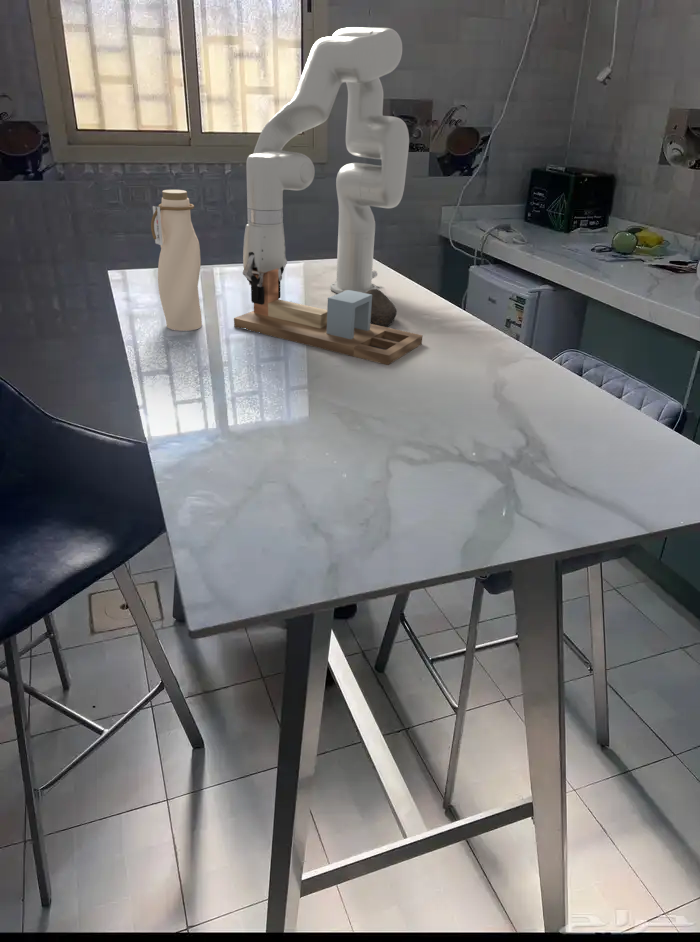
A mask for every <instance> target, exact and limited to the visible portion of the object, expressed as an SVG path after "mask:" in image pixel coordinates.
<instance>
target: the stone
mask: <svg viewBox="0 0 700 942" xmlns="http://www.w3.org/2000/svg"><path fill="white" fill-rule="evenodd" d="M365 293H366V294H371V295H372V306H371V322H370V324H374V325H378V326H383V327H387V328H389V326H391V325H392V324H393V323H394V321H395V318H396V316H397V308H396V306H395V305H394V304H393V302H392V301H391V300H390V298H388V296H387V295H385V293H383V292H382V291H381V290H379V289H378V288H377V289H371V290H369V291H367V292H365Z"/></svg>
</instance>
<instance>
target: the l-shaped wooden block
mask: <svg viewBox="0 0 700 942" xmlns="http://www.w3.org/2000/svg"><path fill="white" fill-rule="evenodd" d="M256 271H257V269H256ZM258 276H259V275H258V274H256V278H257V279H258ZM262 286H263V287H264V304H262V305H261V304H256V303H253V311H254V313H257V314H261V315H265V316H270V317H274V318H278V319H282V320H287V321H291V322H295V323H299V324H304V325H308V326H312V327H317V328H322V327H324V326H327V309H324V308H320V307H315V306H310V305H306V304H303V303H302V304H301V303H297V302H292V301H288V300H283V299H280V298H279V299H278V268H277V269H274V270H271V271H268V272H266V273H264V278H263V283H262Z"/></svg>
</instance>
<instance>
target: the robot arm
mask: <svg viewBox="0 0 700 942" xmlns="http://www.w3.org/2000/svg"><path fill="white" fill-rule="evenodd" d="M402 55H403V42H402V39H401V36H400V34H399V33H398V32H397V31H396V30H394V28H389V27H365V26H360V27H359V26H350V27H349V26H348V27H343V28H339V29H337V30H336V31H335V32H333V34H332V36H325V37H324V36H323V37H321V38H319V39H317V40H316V41H315V42H314V44H312V47H311V49H310V52H309V55H308V57H307V60H306V62H305V65H304V67H303V70H302V74H301V76H300V78H299V81H298V83H297V87H296V89H295V92H294V94H293V97H292V99H291V100H290V101H289V102H288V103H287V104H285V105H284V106H283V107H282V108H281V109H280V110H278V111H277V112H276V113H275V115H273V117H272V118H270V119H269V121H268V122H267V123H266V124H265V126H264V127H263V129H262V130H261V131H260V133H259V136H258V139H257V142H256V144H255V146H254V150H253V153H252V154H249V155H248V156H247V159H246V166H245V167H246V168H245V169H246V194H247V195H246V199H247V201H246V204H247V224H245V230H244V234H243V235H244V236H243V249H242V250H243V252H242V255H243V256H242V258H243V259H242V262H243V263H242V264H243V271H242V275H243V277H245V278H246V280H247V281H248V284H249V286H250V292H251V293H250V296H251V298H250V299H251V303H252V304H254V303H256V304H261V305H262V304H264V287H263V286H262V283H263V278H264V273H266V272H268V271H271V270H274V269H277V268H278V299H279V300H280V299H281V281H282V280H283V273H284V271H285V267H286V266H287V264H288V260H287V258H286V242H285V240H286V238H285V231H284V223H283V222H284V221H283V219H284V218H283V217H284V213H283V207H284V206H283V204H284V202H283V200H284V199H283V198H284V196H283V195H284V193H283V192H284V190H288V191H289V190H290V191H302V190H305V189H306V188H308V187H310V185H311V184H312V183H313V181H314V178H315V170H316V169H315V166H314V163H313V161H312V159H311V158H310V157H309V156H307V155H305V154H304V153H301V152H297V151H296V152H295V151H294V152H293V151H288V150H283V148H284V147H285V145H286V144H287V143H289V141H290V140H292V139H293V138H294V137H296V136H297V135H299V134H301V133H303V132H306V131H308V130H311V129H313V128H315V127H317V126H319V125H322V124H324V123H325V122H326V121H327V120H328V119H329V117H330V115H331V111H332V108H333V106H334V103H335V101H336V98H337V95H338V93H339V90H340V88H341V86H342V84H344V83H346V88H347V110H346V111H347V112H346V124H345V125H346V126H345V147H346V150H347V151H348V153H349V154H351V155H352V156H355V157H360V158H366V159H374V160H381V165H376V164H372V163H362V162H351V163H346V164H345V165H343V166H342V167H341V168H339V171H338V172H337V175H336V180H335V181H336V182H335V185H336V186H335V187H336V195H337V202H338V231H337V232H338V233H337V234H338V236H337V257H336V259H337V260H336V280H335V281H334V282H331V283H330V286H329V287H330V290H331V291H332V292H333V293H336V294H339V293H341V292H344V291H346V290H352V291H357V292H361V293H365V292H367V291H369V290H371V289H377V290H378V287H377V285H375V284H374V283H373V282H372V280H373V279H375V278H377V277H378V272H377V271H376V270H373V266H374V265H373V264H374V249H375V247H374V246H375V233H376V221H375V215H374V213H373V211H372V208H371V207H375V208H383V209H393V208H396V207H398V205H400V203H401V202H402V201H401V200H402V199H403V195H404V191H405V183H406V175H407V166H408V158H409V146H410V134H409V129H408V126H407V124H406V122H405V121H404V120H403V119H401V118H400V117H397V116H392V115H391V116H390V115H383V109H384V88H383V85H382V81H381V79H380V78H382V77H383V76H386V75H388V74H390V73H392V72H393V71H394V70H395V69H396V68H398V66H399V64H400V61H401V59H402ZM256 269H257V271H256ZM256 274H258V275H259V276H258V279H257V278H256Z"/></svg>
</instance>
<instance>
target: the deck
mask: <svg viewBox="0 0 700 942" xmlns="http://www.w3.org/2000/svg"><path fill="white" fill-rule="evenodd" d="M233 327H234V328H238V329H241V328H246V329H248V330H247V331H249V330H251V331H250V332H253V331H255V332H254V333H257V332H260V333H259V334H261V333H262V335H266V336H269V337H270V336H271V337H272V338H273V337H274V338H277V339H282V340H286V341H289V342H294V343H299V344H302V345H306V346H310V347H315V348H318V349H322V350H326V351H330V352H334V353H337V354H342V355H346V356H350V357H354V358H357V359H358V358H359V359H363V360H367V361H370V362H375V363H378V364H383V365H386V366H389V365H391V364H392V363H394V362H395V361H397V360H399V359H400V358H402V357H403V356H405V355H406V354H408V353H410V352H411V351H413V350H414V349H416V348H418V347H420V346H421V345H422V344H423V335H422V334H418V333H413V332H410V331H405V330H400V329H395V328H392V327H383V326H378V325H375V324H374V323H370V330H368V331H365V330H361V329H357V328H354V338H353V339H347V338H343V337H339V336H334V335H330V334H327V326H324V327H322V328H317V327H312V326H308V325H304V324H299V323H295V322H291V321H287V320H282V319H278V318H274V317H270V316H265V315H261V314H257V313H254V310H253V311H250V312H247V313H244V314H241V315H239V316H236V317H234V318H233Z"/></svg>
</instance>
